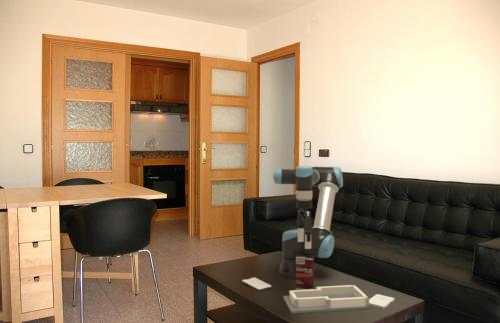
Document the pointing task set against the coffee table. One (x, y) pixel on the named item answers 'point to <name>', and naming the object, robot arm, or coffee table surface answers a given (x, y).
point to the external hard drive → (380, 301)
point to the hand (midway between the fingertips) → (304, 245)
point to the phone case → (256, 284)
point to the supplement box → (304, 273)
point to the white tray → (326, 299)
